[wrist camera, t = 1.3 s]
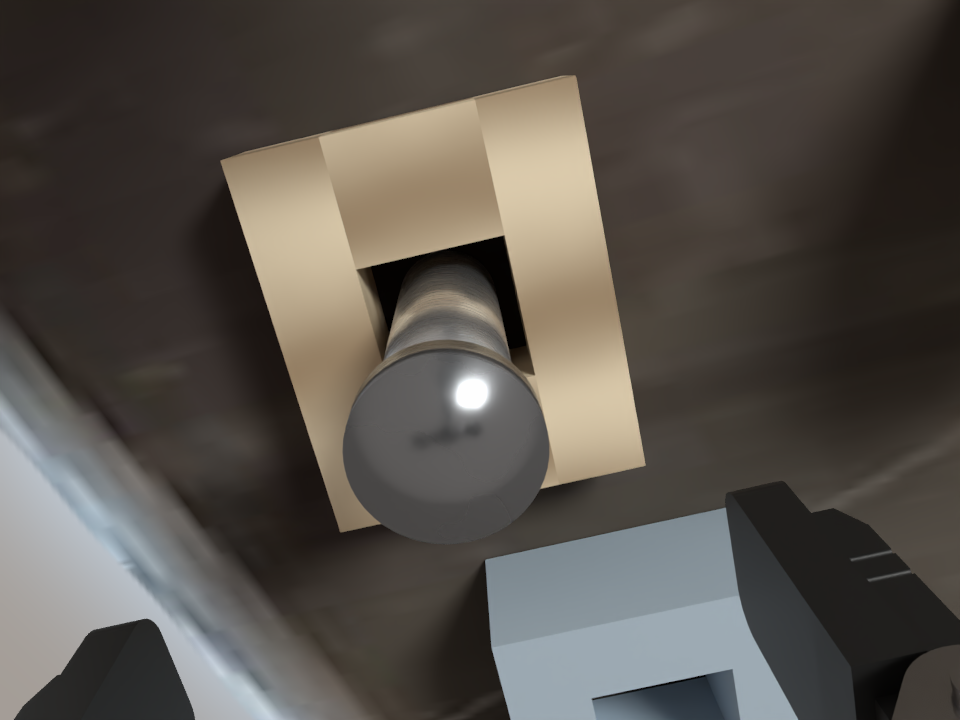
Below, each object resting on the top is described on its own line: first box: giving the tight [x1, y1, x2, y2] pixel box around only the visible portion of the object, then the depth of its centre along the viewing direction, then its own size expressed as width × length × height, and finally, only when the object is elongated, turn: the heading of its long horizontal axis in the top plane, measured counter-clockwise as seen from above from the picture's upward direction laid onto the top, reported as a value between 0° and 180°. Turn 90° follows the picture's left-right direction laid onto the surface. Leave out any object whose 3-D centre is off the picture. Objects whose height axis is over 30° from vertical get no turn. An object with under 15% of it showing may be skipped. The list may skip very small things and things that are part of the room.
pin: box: [342, 251, 549, 544], centre depth 22 cm, size 4×4×12 cm
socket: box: [485, 508, 798, 720], centre depth 30 cm, size 10×10×5 cm
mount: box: [221, 76, 646, 533], centre depth 26 cm, size 12×10×3 cm
